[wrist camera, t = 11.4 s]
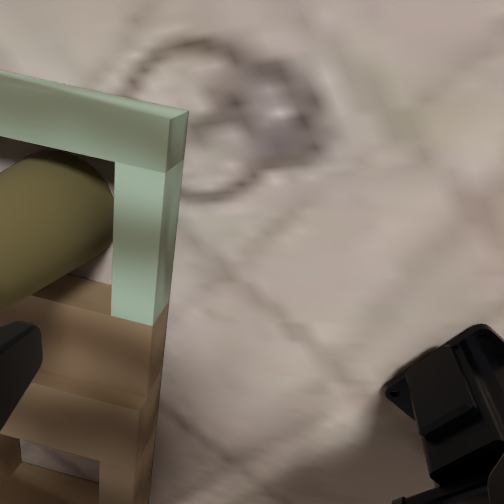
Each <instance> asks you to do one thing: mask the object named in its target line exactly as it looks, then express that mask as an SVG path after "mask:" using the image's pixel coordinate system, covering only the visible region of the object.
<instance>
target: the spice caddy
mask: <svg viewBox="0 0 504 504" xmlns="http://www.w3.org/2000/svg"><path fill="white" fill-rule="evenodd" d="M188 113H189V111H187V110H182V109H177V108H173V107H168V106H163V105H159V104H154V103H149V102H145V101H140V100H135V99H131V98H126V97H121V96H117V95H112V94H107V93H103V92H98V91H93V90H89V89H84V88H79V87H75V86H70V85H65V84H60V83H56V82H51V81H46V80H42V79H37V78H32V77H28V76H23V75H18V74H14V73H9V72H4V71H0V136H2V137H7V138H11V139H16V140H20V141H24V142H29V143H33V144H38V145H42V146H47V147H51V148H55V149H60V150H64V151H69V152H73V153H78V154H82V155H87V156H91V157H95V158H100V159H104V160H109V161H113V162H115V183H114V220H113V257H112V285H108V284H104V283H100V282H96V281H92V280H88V279H84V278H80V277H75V276H71V275H67V274H66V275H64V276H62V277H61V278H59V279H57V280H55V281H54V282H52V283H50V284H49V285H47V286H45V287H44V288H42V289H40V290H38V291H37V292H35V293H33V294H32V295H30V296H28V297H27V298H25V299H23V300H21V301H20V302H18V303H16V304H15V305H13V306H11V307H10V308H8V309H6V310H4V311H3V312H1V313H0V327H1V326H3V325H6V324H9V323H11V322H14V321H18V320H21V321H26V322H30V323H34V324H37V325H39V326H40V328H41V332H42V346H43V361H42V364H41V367H40V369H39V371H38V372H37V374H36V375H35V377H34V379H33V380H32V382H31V383H30V385H29V387H28V388H27V390H26V391H25V393H24V395H23V396H22V398H21V399H20V401H19V403H18V404H17V406H16V408H15V409H14V411H13V412H12V414H11V416H10V417H9V419H8V420H7V422H6V424H5V425H4V427H3V428H2V430H1V431H0V504H148V503H149V493H150V484H151V474H152V464H153V454H154V445H155V435H156V425H157V415H158V406H159V396H160V386H161V376H162V367H163V357H164V347H165V337H166V328H167V318H168V308H169V298H170V289H171V279H172V269H173V259H174V250H175V240H176V230H177V220H178V211H179V201H180V191H181V181H182V172H183V162H184V152H185V142H186V133H187V123H188ZM19 439H21V440H25V441H28V442H32V443H36V444H39V445H43V446H46V447H50V448H54V449H57V450H61V451H64V452H68V453H71V454H75V455H79V456H82V457H86V458H89V459H93V460H97V461H99V484H98V483H94V482H91V481H87V480H84V479H80V478H77V477H73V476H70V475H66V474H63V473H59V472H55V471H52V470H48V469H45V468H41V467H38V466H34V465H31V464H27V463H24V462H22V461H21V452H20V444H19Z"/></svg>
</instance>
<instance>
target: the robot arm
mask: <svg viewBox="0 0 504 504" xmlns="http://www.w3.org/2000/svg"><path fill="white" fill-rule="evenodd" d="M480 333H486V334H485V335H484V336H478V335H479V334H480ZM42 361H43V346H42V332H41V328H40V326H39V325H37V324H34V323H30V322H26V321H21V320H18V321H14V322H11V323H9V324H6V325H3V326H1V327H0V431H1V430H2V428H3V427H4V425H5V424H6V422H7V420H8V419H9V417H10V416H11V414H12V412H13V411H14V409H15V408H16V406H17V404H18V403H19V401H20V399H21V398H22V396H23V395H24V393H25V391H26V390H27V388H28V387H29V385H30V383H31V382H32V380H33V379H34V377H35V375H36V374H37V372H38V371H39V369H40V367H41V364H42ZM384 389H385V395H386V397H387V398H388V399H389V400H390V401H392V402H393V403H394V404H395V405H397V406H398V407H399V408H400V409H401V410H403V411H404V412H405V413H406V414H407V415H409V416H410V417H411V418H412V419H414V420H415V421H416V425H417V429H418V433H419V435H420V436H421V440H422V444H423V449H424V453H425V457H426V462H427V466H428V470H429V475H430V477H431V479H432V480H434V484H435V488H433V489H430V490H428V491H425V492H422V493H419V494H416V495H414V496H411V497H408V498H405V497H401V498H398V499H395V500H393V501H392V504H504V339H503V338H501V337H500V336H499V335H498V334H497V333H496V332H495V331H494V330H493V329H492V328H491V327H489V326H488V325H486V324H477V325H475V326H473V327H472V328H470V329H469V330H467V331H465V332H464V333H462V334H461V335H459V336H458V337H456V338H455V339H453V340H452V341H450V342H449V343H447V344H446V345H444V346H442V347H440V348H439V349H437V350H436V351H434V352H433V353H431V354H430V355H428V356H427V357H425V358H424V359H422V360H421V361H419V362H418V363H416V364H415V365H413V366H412V367H410V368H409V369H407V370H406V371H405V372H403V373H402V374H400V375H399V376H397V377H396V378H394V379H393V380H391V381H390V382H388V383H387V384H386V385H385V387H384ZM392 390H397V391H396V392H392Z"/></svg>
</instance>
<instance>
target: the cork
mask: <svg viewBox="0 0 504 504" xmlns="http://www.w3.org/2000/svg"><path fill="white" fill-rule="evenodd" d="M113 220H114V198H113V196H112V194H111V191H110V189H109V187H108V185H107V184H106V183H105V181H104V180H103V179H102V178H101V177H100V175H99V174H98V173H97V172H96V171H95V170H94V169H93V168H92V167H90V166H89V165H88V164H86V163H85V162H83V161H82V160H81V159H79V158H78V157H75V156H72V155H69V154H66V153H64V152H61V151H40V152H37V153H34V154H31V155H29V156H26V157H25V158H23V159H21V160H20V161H18V162H17V163H15V164H13V165H12V166H10V167H9V168H7V169H5V170H4V171H2V172H1V173H0V313H1V312H3V311H4V310H6V309H8V308H10V307H11V306H13V305H15V304H16V303H18V302H20V301H21V300H23V299H25V298H27V297H28V296H30V295H32V294H33V293H35V292H37V291H38V290H40V289H42V288H44V287H45V286H47V285H49V284H50V283H52V282H54V281H55V280H57V279H59V278H61V277H62V276H64V275H66V274H67V273H69V272H71V271H72V270H74V269H76V268H78V267H79V266H81V265H83V264H84V263H86V262H88V261H89V260H91V259H93V258H95V257H96V256H98V255H99V254H100V253H102V252H103V251H105V250H106V249H107V248H108V247H109V246H110V244H111V242H112V241H113Z"/></svg>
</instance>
